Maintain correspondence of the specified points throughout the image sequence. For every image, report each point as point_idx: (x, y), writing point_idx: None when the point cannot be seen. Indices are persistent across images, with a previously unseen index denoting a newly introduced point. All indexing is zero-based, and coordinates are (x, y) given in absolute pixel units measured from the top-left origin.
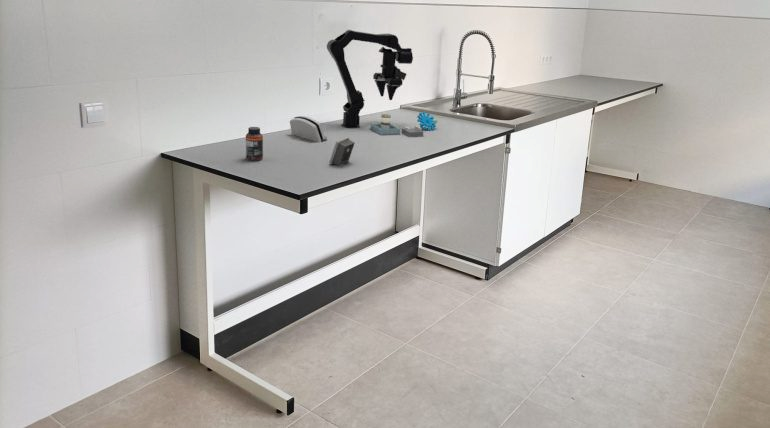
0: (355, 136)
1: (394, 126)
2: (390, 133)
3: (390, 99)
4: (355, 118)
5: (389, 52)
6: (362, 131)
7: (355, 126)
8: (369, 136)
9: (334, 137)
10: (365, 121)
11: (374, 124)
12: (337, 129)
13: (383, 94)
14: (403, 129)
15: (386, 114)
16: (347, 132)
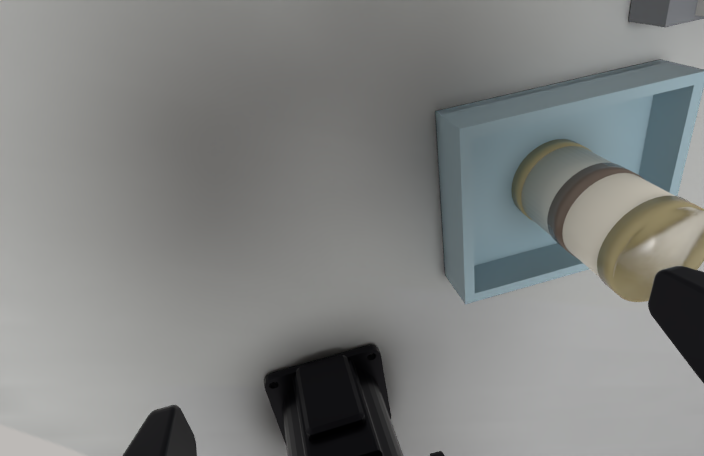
0: (604, 371)
1: (600, 101)
2: (651, 154)
3: (679, 301)
4: (393, 430)
5: None
6: (492, 330)
7: (382, 375)
8: (630, 301)
9: (592, 451)
10: (75, 279)
11: (473, 274)
12: (420, 452)
13: (172, 444)
14: (692, 16)
15: (630, 245)
16: (503, 406)
